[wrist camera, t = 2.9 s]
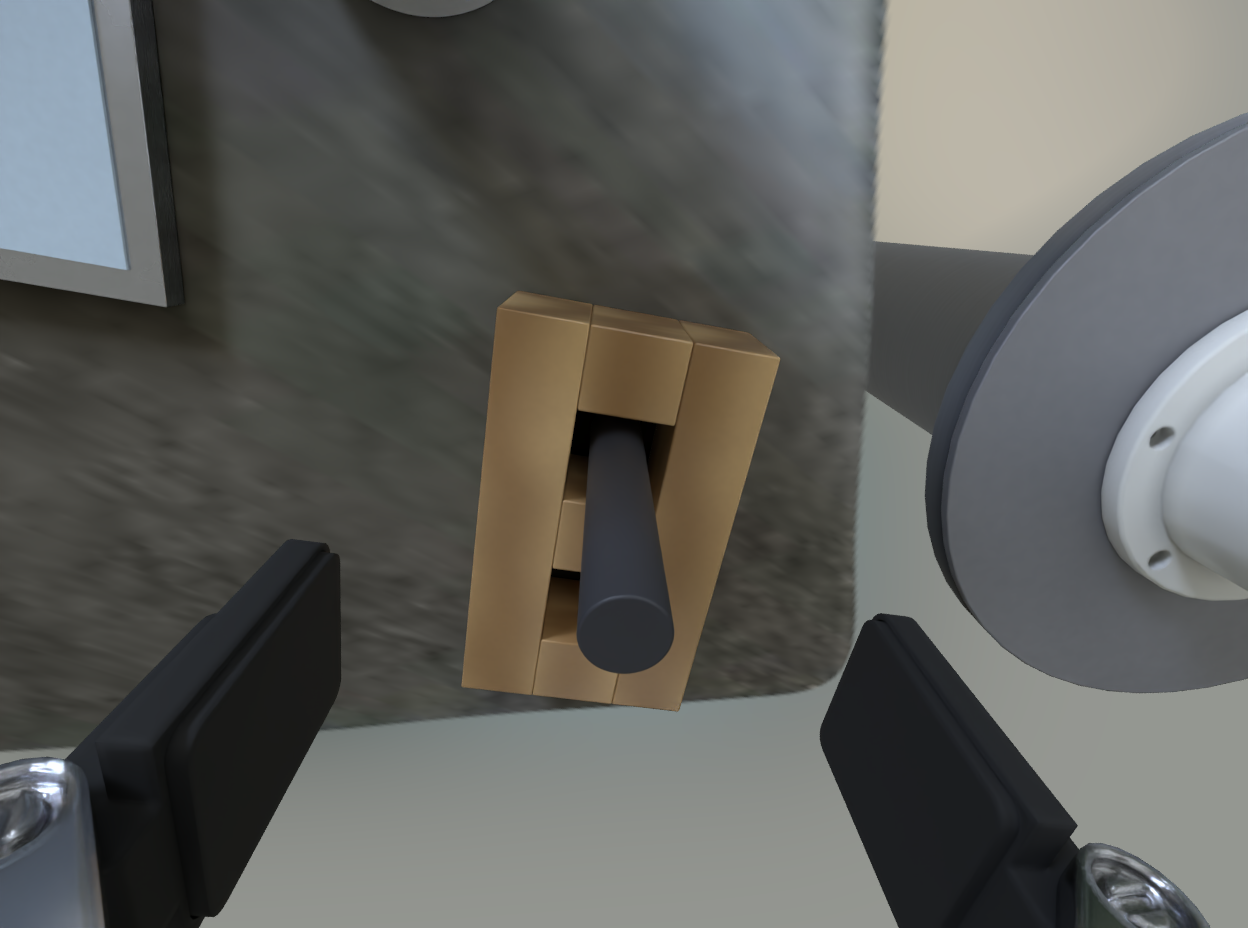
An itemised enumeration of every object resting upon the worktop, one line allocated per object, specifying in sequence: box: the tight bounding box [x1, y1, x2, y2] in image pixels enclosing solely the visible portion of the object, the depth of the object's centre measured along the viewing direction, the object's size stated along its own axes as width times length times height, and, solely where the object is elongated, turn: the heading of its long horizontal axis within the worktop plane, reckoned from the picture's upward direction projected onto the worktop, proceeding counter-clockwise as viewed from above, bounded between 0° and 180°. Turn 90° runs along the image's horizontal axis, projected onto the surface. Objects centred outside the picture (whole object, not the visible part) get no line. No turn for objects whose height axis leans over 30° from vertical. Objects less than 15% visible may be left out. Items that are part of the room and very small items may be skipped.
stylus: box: [576, 414, 674, 674], centre depth 16 cm, size 2×2×12 cm
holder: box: [462, 291, 780, 711], centre depth 21 cm, size 8×14×4 cm, turn 170°
